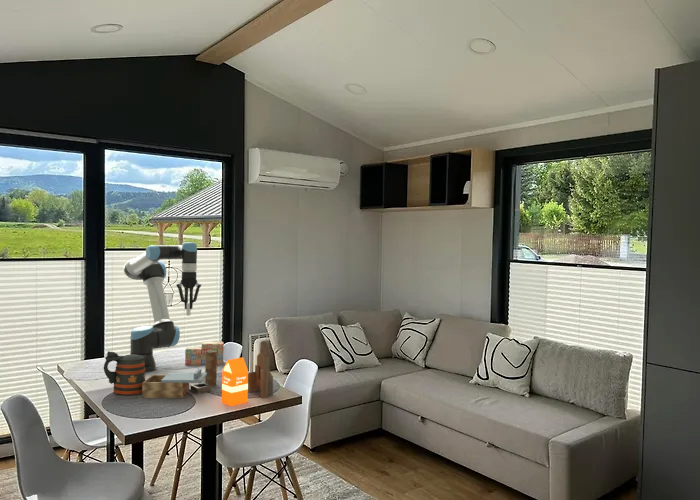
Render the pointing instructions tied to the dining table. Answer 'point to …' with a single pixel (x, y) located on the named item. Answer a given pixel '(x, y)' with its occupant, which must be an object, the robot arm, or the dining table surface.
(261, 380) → the wooden toy
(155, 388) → the toolbox
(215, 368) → the pin
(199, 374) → the lid
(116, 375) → the beer stein
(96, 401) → the dining table surface
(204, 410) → the dining table surface
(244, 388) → the orange juice
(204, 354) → the stack of blocks
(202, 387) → the socket
